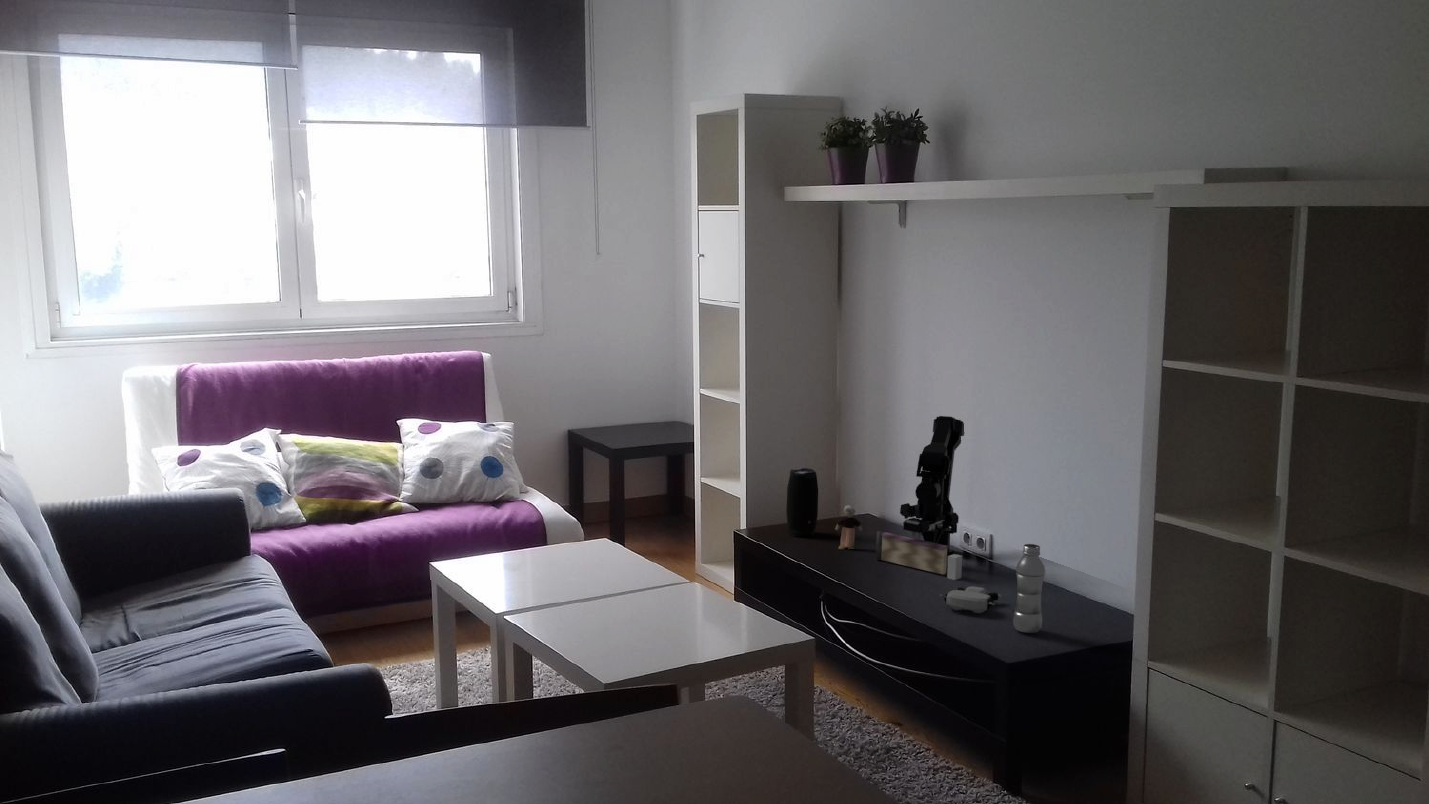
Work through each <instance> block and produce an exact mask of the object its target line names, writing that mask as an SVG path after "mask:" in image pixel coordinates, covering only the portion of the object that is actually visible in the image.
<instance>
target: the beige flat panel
mask: <svg viewBox="0 0 1429 804" xmlns="http://www.w3.org/2000/svg"><path fill="white" fill-rule="evenodd" d="M875 548H876V549H875V559H876V560H881V561H884V562H887V563H888V562H889V563H893V564H898V565H902V566H905V567H910V568H914V569H918V570H923V571H927V572H931V573H935V574H939V575H946V574H947V567H948V554H947V549H948V546H946V545H942V544H937V543H933V542H928V541H924V539H919V538H918V539H917V538H914V537H909V536H905V535H900V534H895V533H891V532H887V531H886V532H885V531H882V530H881V531H876V547H875Z"/></svg>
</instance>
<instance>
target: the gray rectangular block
mask: <svg viewBox="0 0 1429 804" xmlns="http://www.w3.org/2000/svg"><path fill="white" fill-rule="evenodd" d="M962 567H963V555H960V554H957V553H956V554H955V553H953V554H951V555H947V570H946V574H947V575H946V576H947V577H946V579H949V580H953V581H957V580H959V579H962V574H963V573H962V571H963V569H962Z"/></svg>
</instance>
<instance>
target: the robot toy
mask: <svg viewBox="0 0 1429 804" xmlns="http://www.w3.org/2000/svg"><path fill="white" fill-rule="evenodd" d="M987 592H988V591H987V589H986V588H984V587H980V586H973V585H972V586H971V585H970V586H968V587H966V589H965V588H964V587H961V586H959V587H957V588H956V590H955V589H953V590H950V591H948V592H947V593H945V594H944V595H942V594H940V595H939V597H942V598H943V600H944V602H945V603H946V604H947V606H948V607H949V606H950V607H951V609H953V610H955V611H957V610H960V611H963V610H966V611H967V610H968V611H971V612H972V613H974V614H977V613H979V615H980V614H982V613H984V612H986V611H987V610H989V609H991V608H992V607H993V606H995V601H998V600H999V599H1001V598H1002V594H999V593H998V592H996V591H995V592H989V593H987ZM960 611H959V612H960Z"/></svg>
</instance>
